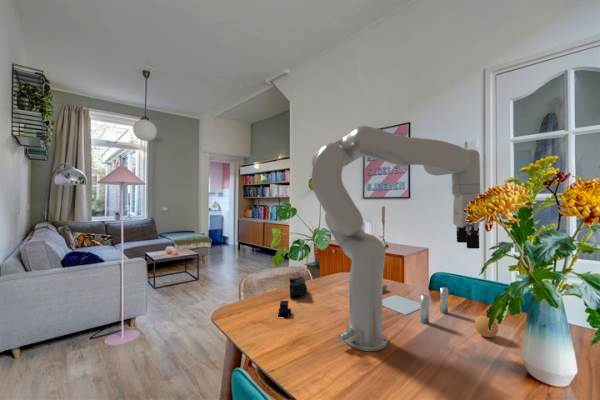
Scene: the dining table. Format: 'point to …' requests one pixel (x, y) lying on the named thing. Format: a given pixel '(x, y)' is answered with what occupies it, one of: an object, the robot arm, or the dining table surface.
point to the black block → (284, 310)
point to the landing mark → (401, 304)
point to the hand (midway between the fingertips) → (467, 245)
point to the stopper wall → (384, 287)
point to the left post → (425, 309)
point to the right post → (444, 300)
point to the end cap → (297, 288)
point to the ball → (485, 327)
